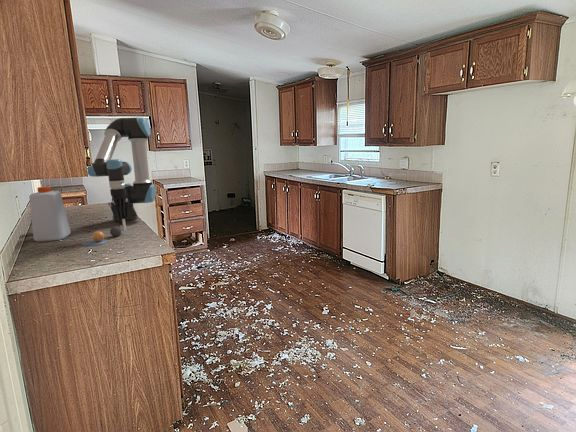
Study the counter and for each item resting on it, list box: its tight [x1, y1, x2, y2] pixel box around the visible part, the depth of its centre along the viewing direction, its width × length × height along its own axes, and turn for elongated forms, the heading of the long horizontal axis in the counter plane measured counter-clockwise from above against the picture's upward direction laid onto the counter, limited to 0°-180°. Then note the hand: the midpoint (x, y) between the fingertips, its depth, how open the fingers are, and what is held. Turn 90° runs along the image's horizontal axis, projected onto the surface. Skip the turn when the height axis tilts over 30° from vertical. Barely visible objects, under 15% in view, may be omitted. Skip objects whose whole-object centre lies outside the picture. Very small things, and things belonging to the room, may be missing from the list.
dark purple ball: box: [109, 225, 122, 237], centre depth 195 cm, size 6×6×6 cm
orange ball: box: [92, 230, 105, 242], centre depth 185 cm, size 6×6×6 cm
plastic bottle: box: [28, 185, 72, 243], centre depth 194 cm, size 15×15×28 cm
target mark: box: [81, 238, 109, 247], centre depth 184 cm, size 12×12×1 cm
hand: (123, 230), depth 200 cm, fingers closed
